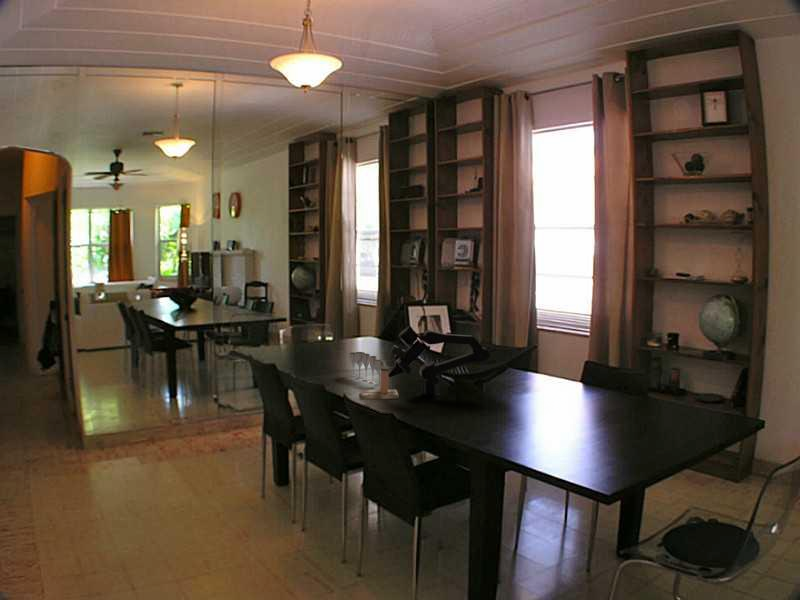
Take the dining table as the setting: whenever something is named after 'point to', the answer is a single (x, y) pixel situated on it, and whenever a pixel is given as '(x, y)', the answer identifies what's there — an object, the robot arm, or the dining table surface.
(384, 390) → the fader tab
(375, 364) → the goblet set
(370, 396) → the fader console
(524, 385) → the dining table surface
